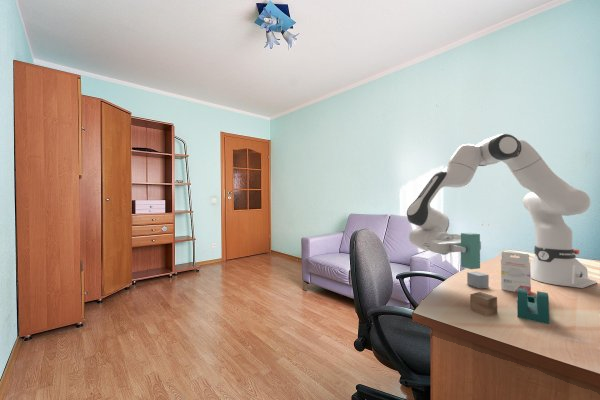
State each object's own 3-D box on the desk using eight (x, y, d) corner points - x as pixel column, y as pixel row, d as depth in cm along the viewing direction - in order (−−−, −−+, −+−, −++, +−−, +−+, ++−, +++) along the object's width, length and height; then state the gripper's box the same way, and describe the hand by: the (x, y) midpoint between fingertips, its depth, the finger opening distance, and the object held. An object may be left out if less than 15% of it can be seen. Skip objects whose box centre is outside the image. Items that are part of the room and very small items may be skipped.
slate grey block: (476, 283, 107) (476, 271, 107) (488, 287, 102) (488, 274, 102) (467, 284, 106) (467, 272, 106) (478, 288, 101) (478, 275, 101)
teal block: (469, 265, 94) (469, 232, 94) (480, 268, 90) (479, 234, 90) (461, 266, 93) (460, 233, 93) (471, 269, 89) (470, 234, 89)
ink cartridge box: (530, 291, 97) (530, 252, 97) (530, 295, 94) (530, 254, 94) (502, 286, 103) (502, 249, 103) (500, 289, 99) (500, 251, 99)
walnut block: (479, 307, 84) (479, 291, 84) (497, 313, 79) (497, 297, 79) (470, 310, 81) (470, 294, 81) (487, 316, 77) (487, 299, 77)
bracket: (549, 324, 72) (548, 296, 72) (517, 317, 76) (517, 291, 76) (544, 304, 86) (544, 280, 86) (517, 299, 90) (517, 277, 90)
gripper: (419, 236, 101) (448, 242, 88) (461, 234, 107) (494, 239, 93) (419, 252, 101) (448, 260, 88) (461, 249, 107) (494, 256, 93)
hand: (472, 249), depth 91 cm, fingers closed on teal block, 4 cm apart
